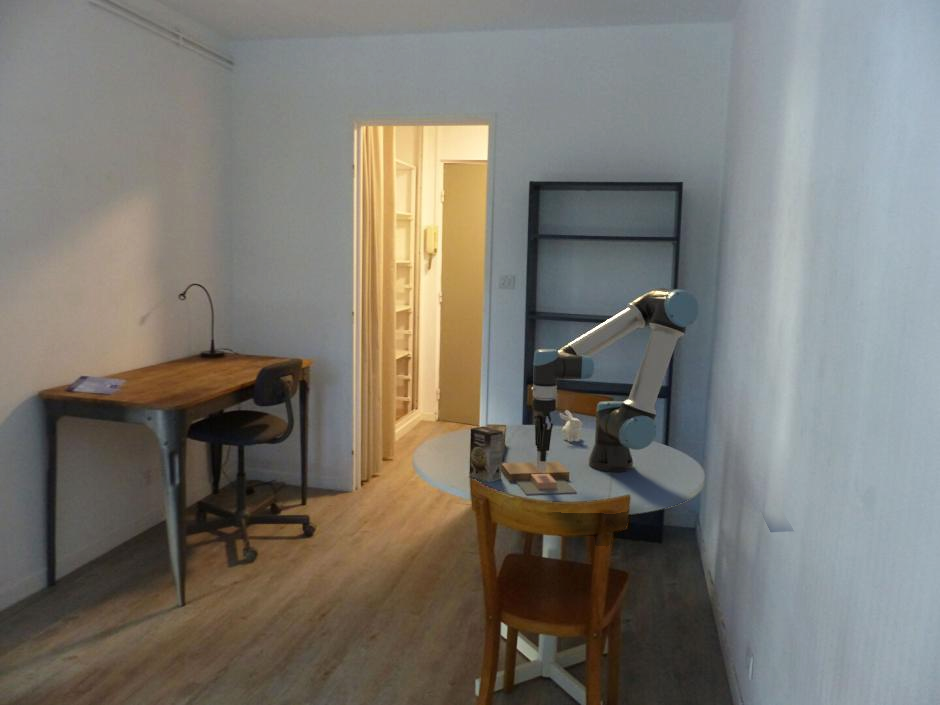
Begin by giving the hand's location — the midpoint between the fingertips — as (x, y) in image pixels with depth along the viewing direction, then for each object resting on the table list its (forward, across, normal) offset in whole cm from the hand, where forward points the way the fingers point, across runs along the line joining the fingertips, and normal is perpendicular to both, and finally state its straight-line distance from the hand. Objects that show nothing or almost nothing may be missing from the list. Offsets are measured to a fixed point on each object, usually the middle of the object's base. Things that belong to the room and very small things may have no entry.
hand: (541, 470), depth 224 cm
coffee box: (+4, -6, -17) cm, 19 cm away
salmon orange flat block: (+4, +3, 0) cm, 5 cm away
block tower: (+5, -36, -8) cm, 37 cm away
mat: (+4, +6, 0) cm, 7 cm away
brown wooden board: (+4, -8, 0) cm, 9 cm away
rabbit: (+4, -52, +28) cm, 59 cm away
